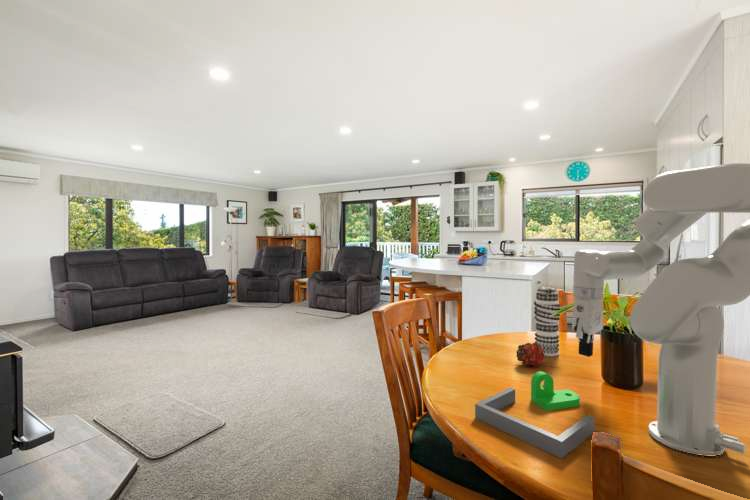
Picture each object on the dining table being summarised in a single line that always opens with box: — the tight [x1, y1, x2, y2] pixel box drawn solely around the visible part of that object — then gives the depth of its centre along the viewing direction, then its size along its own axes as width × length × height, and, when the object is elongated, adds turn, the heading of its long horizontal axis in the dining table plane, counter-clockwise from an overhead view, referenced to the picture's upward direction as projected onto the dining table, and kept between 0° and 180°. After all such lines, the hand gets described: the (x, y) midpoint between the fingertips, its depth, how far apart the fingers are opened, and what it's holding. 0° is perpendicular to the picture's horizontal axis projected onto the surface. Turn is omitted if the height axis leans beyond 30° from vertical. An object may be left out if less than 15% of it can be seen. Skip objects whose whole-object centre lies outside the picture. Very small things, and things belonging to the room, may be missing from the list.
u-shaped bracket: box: [474, 387, 595, 459], centre depth 85 cm, size 21×16×4 cm
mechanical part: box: [530, 370, 581, 412], centre depth 96 cm, size 12×6×8 cm, turn 104°
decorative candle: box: [533, 286, 561, 357], centre depth 137 cm, size 9×9×25 cm
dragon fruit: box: [516, 342, 546, 367], centre depth 124 cm, size 8×8×12 cm
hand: (585, 354), depth 104 cm, fingers closed
